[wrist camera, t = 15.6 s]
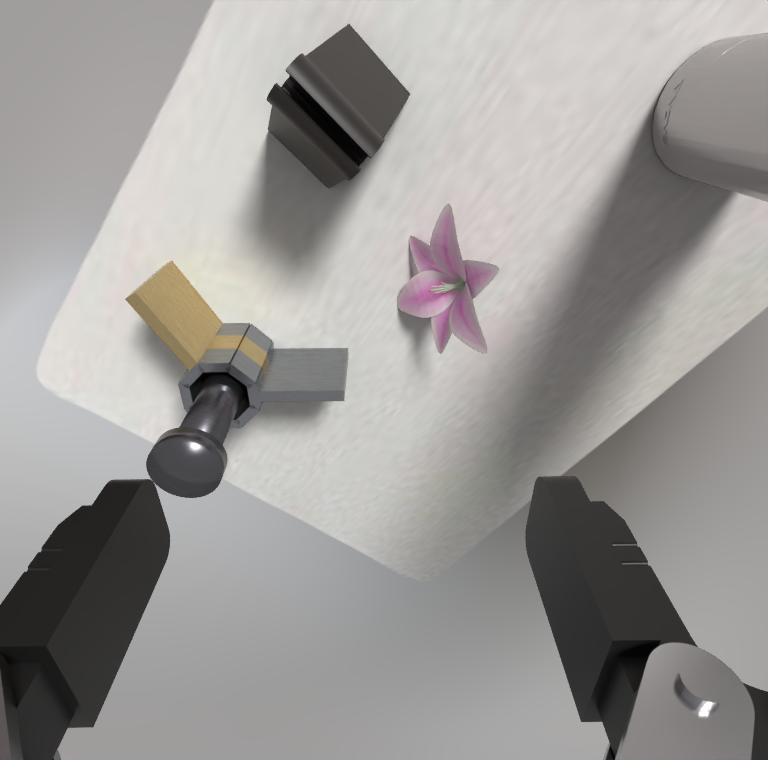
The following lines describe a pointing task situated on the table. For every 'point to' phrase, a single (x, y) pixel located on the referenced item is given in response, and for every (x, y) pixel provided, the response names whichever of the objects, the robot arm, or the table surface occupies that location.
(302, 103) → the phone stand
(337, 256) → the table surface
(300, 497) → the table surface
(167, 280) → the hinge
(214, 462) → the hinge pin
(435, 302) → the lily
